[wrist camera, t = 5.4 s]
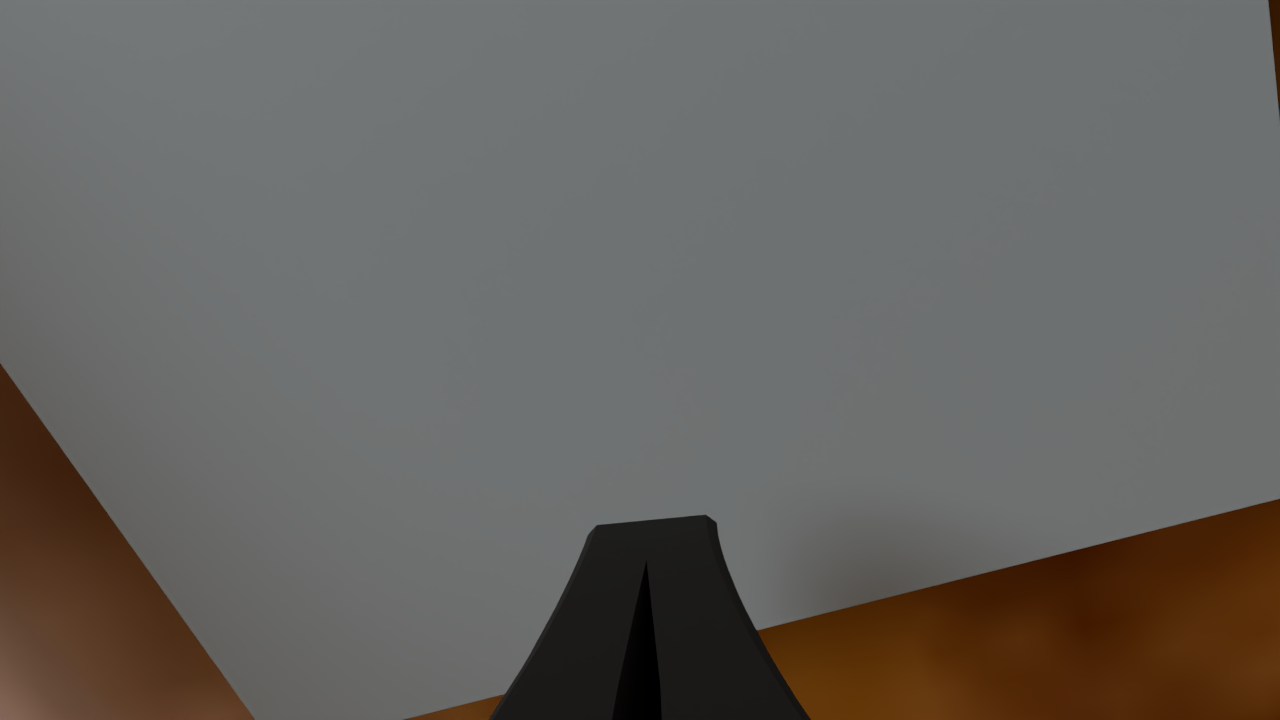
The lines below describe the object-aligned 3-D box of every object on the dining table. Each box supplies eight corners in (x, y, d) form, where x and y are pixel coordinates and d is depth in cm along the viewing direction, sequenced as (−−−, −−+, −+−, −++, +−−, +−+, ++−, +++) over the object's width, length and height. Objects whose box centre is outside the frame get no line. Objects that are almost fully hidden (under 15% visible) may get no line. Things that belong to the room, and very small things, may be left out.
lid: (287, 724, 20) (277, 751, 20) (-316, -141, 14) (-355, -134, 13) (1296, 465, 17) (1315, 489, 17) (1161, -814, 11) (1187, -840, 10)
